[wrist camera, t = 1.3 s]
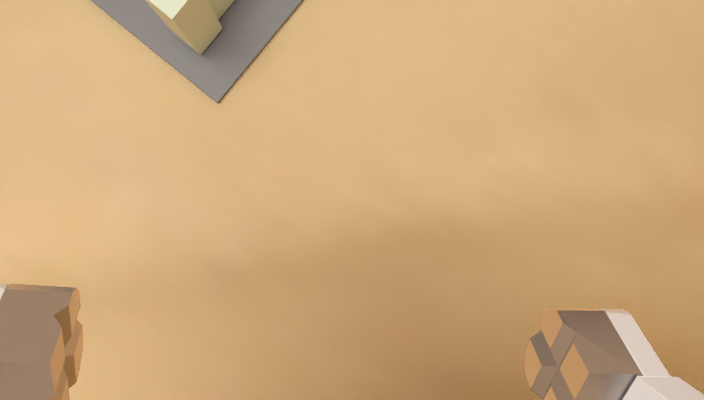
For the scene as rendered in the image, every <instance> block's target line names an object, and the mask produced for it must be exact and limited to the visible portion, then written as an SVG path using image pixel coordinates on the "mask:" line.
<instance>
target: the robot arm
mask: <svg viewBox="0 0 704 400" xmlns="http://www.w3.org/2000/svg"><path fill="white" fill-rule="evenodd" d="M80 306H81V305H80V297H79V290H78V289H77V288H70V287H54V286H38V285H22V284H10V285H9V284H0V400H70V399H69V388H70V387H71V386H72V385H74V384H75V383H76V381H77V377H78V373H79V369H80V364H81V357H82V350H83V330H82V324H80V323H79V322H78V321H77V316H78V313H79V309H80ZM538 324H539V326H540V328H541V330H542V331H540V332H539V333H537V334H536V335H535V336H533V337H532V338H530V340H529V342H528V345H527V347H526V350H525V355H524V370H525V375H526V379H527V382H528V384H529V387H530V389H531V390H532V391H533V392H534V393H536V394H537V395H538V396H539V397H540V398H541V399H542V400H704V395H703V394H702V393H700V392H699V391H697V390H696V389H695V388H693V387H692V386H690V385H689V384H688V383H686V382H685V381H683V380H682V379H681V378H679V377H672V376H670V375H669V373H668V372H667V370H666V369H665V367H664V366H663V364H662V362H661V361H660V359H659V358H658V356H657V355H656V353H655V351H654V350H653V348H652V347H651V345H650V344H649V342H648V340H647V339H646V337H645V336H644V334H643V333H642V331H641V329H640V328H639V326H638V325H637V323H636V322H635V320H634V318H633V317H632V315H631V314H630V313H629V312H627V311H626V310H625V309H604V308H599V309H595V308H566V307H548V308H547V309H545V310H544V311H543V312H542V314H541V316H540V318H539V320H538Z"/></svg>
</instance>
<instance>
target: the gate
mask: <svg viewBox="0 0 704 400" xmlns="http://www.w3.org/2000/svg"><path fill="white" fill-rule="evenodd" d="M145 1H146V2H147V3H148V4H149V5H150V6H151V8H152V9H153V10H154V11H155V12H156V13H157V15H158V16H159V17H160V18H161V19H162V20H163V22H164V23H165V24H166V25H167V26H168V27H169V29H170V30H171V31H172V32H173V33H174V34H175V35H176V36H178V37H179V38H180V39H181V40H183V41H184V42H185V43H186V44H187V45H189V46H190V47H191V48H192V49H194V50H195V51H196V52H197V53H198V54H200V55H201V54H202V53H203V52H204V50H205V49H206V48H207V47H208V46H209V44H210V43H211V42H212V41H213V40H214V38H215V37H216V36H217V35H218V34H219V32H220V31H221V30H222V29H223V28H222V26H221V24H220V22H219V21H218V20H219V19H220V17H221V16H222V15H223V14H224V13H225V11H226V10H227V9H228V8H229V7H230V5H231V4H232V3H233V2H234V1H235V0H145Z"/></svg>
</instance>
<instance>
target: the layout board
mask: <svg viewBox="0 0 704 400" xmlns="http://www.w3.org/2000/svg"><path fill="white" fill-rule="evenodd" d="M91 1H92V2H94V3H95V4H96V5H97V6H99V7H100V8H101V9H102V10H104V11H105V12H106V13H107V14H108V15H110V16H111V17H112V18H113V19H115V20H116V21H117V22H118V23H120V24H121V25H122V26H123V27H124V28H126V29H127V30H128V31H129V32H131V33H132V34H133V35H134V36H136V37H137V38H138V39H139V40H140V41H142V42H143V43H144V44H145V45H147V46H148V47H149V48H150V49H151V50H153V51H154V52H155V53H156V54H158V55H159V56H160V57H161V58H163V59H164V60H165V61H166V62H167V63H169V64H170V65H171V66H172V67H174V68H175V69H176V70H177V71H179V72H180V73H181V74H182V75H183V76H185V77H186V78H187V79H188V80H190V81H191V82H192V83H193V84H195V85H196V86H197V87H198V88H199V89H201V90H202V91H203V92H204V93H206V94H207V95H208V96H209V97H211V98H212V99H213V100H214V101H215V102H217V103H219V102H220V100H221V99H222V98H223V97H224V96H225V94H226V93H227V92H228V91H229V90H230V88H231V87H232V86H233V85H234V83H235V82H236V81H237V80H238V79H239V77H240V76H241V75H242V74H243V73H244V71H245V70H246V69H247V68H248V67H249V65H250V64H251V63H252V62H253V61H254V59H255V58H256V57H257V56H258V54H259V53H260V52H261V51H262V50H263V48H264V47H265V46H266V45H267V44H268V42H269V41H270V40H271V39H272V38H273V36H274V35H275V34H276V33H277V31H278V30H279V29H280V28H281V27H282V25H283V24H284V23H285V22H286V21H287V19H288V18H289V17H290V16H291V15H292V13H293V12H294V11H295V10H296V8H297V7H298V6H299V5H300V4H301V2H302V1H303V0H235V1H234V2H233V3H232V4H231V5H230V7H229V8H228V9H227V10H226V11H225V13H224V14H223V15H222V16H221V17H220V19H219V20H218V21H219V22H220V24H221V26H222V28H223V29H222V30H221V31H220V32H219V34H218V35H217V36H216V37H215V38H214V40H213V41H212V42H211V43H210V44H209V46H208V47H207V48H206V49H205V50H204V52H203V53H202V54H201V55H200V54H198V53H197V52H196V51H195V50H194V49H192V48H191V47H190V46H189V45H187V44H186V43H185V42H184V41H183V40H181V39H180V38H179V37H178V36H176V35H175V34H174V33H173V32H172V31H171V30H170V29H169V27H168V26H167V25H166V24H165V23H164V22H163V20H162V19H161V18H160V17H159V16H158V15H157V13H156V12H155V11H154V10H153V9H152V8H151V6H150V5H149V4H148V3H147V2H146V1H145V0H91Z"/></svg>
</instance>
